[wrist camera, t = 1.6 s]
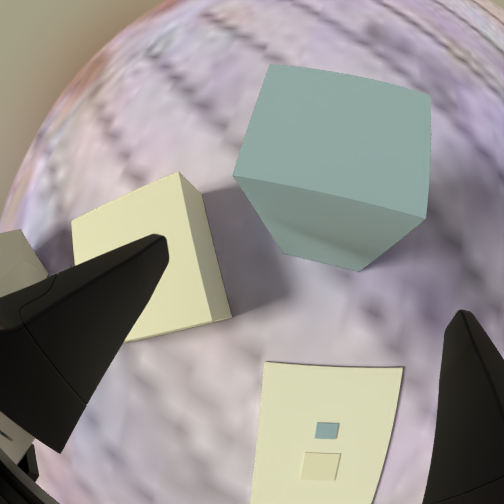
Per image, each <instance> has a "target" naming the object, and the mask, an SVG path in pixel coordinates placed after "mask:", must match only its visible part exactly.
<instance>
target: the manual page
mask: <svg viewBox="0 0 504 504" xmlns="http://www.w3.org/2000/svg"><path fill="white" fill-rule="evenodd" d="M402 370H403V368H402V367H400V368H365V367H333V366H314V365H299V364H286V363H275V362H264V372H263V383H262V394H261V405H260V415H259V426H258V436H257V445H256V455H255V464H254V474H253V483H252V491H251V500H250V504H371V503H372V500H373V497H374V494H375V491H376V488H377V484H378V481H379V478H380V474H381V471H382V467H383V464H384V460H385V456H386V452H387V448H388V444H389V440H390V436H391V431H392V427H393V422H394V417H395V412H396V407H397V401H398V396H399V390H400V383H401V377H402Z"/></svg>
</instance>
